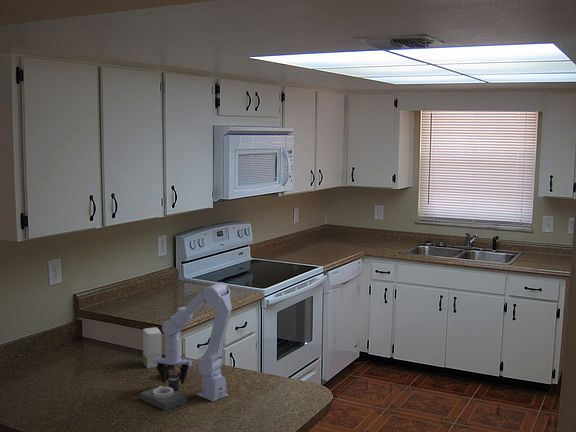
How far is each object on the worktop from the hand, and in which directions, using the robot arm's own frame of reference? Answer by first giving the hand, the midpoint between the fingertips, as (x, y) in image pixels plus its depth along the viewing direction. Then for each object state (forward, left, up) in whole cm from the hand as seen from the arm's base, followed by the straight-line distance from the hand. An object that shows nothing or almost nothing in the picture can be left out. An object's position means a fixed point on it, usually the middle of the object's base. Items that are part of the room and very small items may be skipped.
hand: (173, 382), depth 266 cm
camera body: (-7, +10, -3) cm, 12 cm away
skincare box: (+30, -11, -3) cm, 32 cm away
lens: (0, 0, -3) cm, 3 cm away
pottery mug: (+11, -10, -3) cm, 15 cm away
